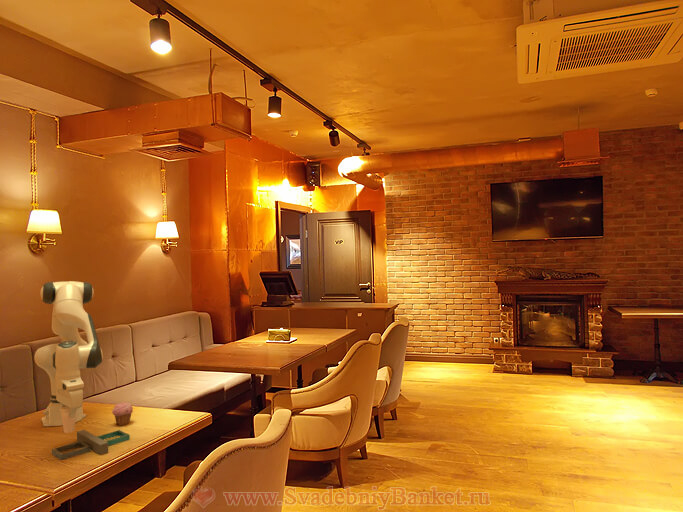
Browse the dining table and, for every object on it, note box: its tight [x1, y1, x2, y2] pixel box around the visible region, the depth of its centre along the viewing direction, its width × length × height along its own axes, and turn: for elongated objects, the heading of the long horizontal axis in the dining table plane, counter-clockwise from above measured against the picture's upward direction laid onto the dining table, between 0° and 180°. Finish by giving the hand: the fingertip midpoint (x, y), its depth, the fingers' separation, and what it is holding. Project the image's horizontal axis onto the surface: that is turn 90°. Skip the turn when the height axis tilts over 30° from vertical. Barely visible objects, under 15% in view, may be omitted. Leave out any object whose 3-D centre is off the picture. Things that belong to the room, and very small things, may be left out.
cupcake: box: [111, 402, 134, 426], centre depth 230 cm, size 9×9×10 cm
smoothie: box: [60, 406, 77, 434], centre depth 196 cm, size 6×6×14 cm
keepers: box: [51, 429, 131, 461], centre depth 202 cm, size 10×27×2 cm, turn 137°
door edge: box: [76, 429, 109, 456], centre depth 202 cm, size 26×3×4 cm, turn 47°
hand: (69, 415), depth 196 cm, fingers closed on smoothie, 6 cm apart
